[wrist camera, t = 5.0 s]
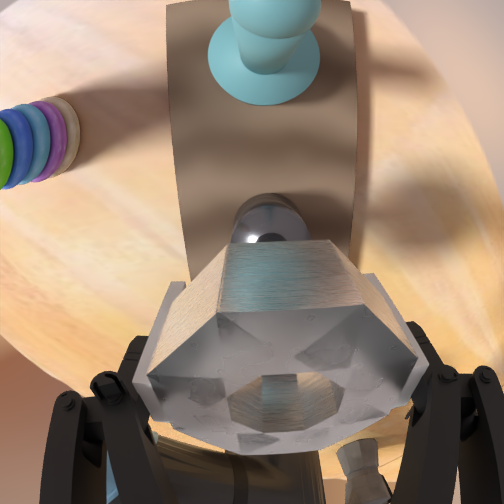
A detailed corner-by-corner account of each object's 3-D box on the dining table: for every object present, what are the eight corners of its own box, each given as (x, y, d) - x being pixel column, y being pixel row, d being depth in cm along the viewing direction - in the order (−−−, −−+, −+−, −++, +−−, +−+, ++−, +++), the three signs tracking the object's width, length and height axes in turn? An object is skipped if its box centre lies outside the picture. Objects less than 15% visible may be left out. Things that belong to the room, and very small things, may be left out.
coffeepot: (320, 453, 48) (329, 525, 32) (353, 435, 45) (368, 513, 29) (365, 457, 52) (377, 517, 36) (395, 440, 48) (412, 503, 32)
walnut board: (337, 282, 28) (343, 293, 26) (197, 287, 28) (194, 299, 26) (342, 8, 16) (350, 1, 14) (172, 12, 16) (166, 5, 15)
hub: (312, 106, 19) (401, 100, 7) (216, 108, 19) (157, 101, 7) (308, 22, 16) (375, -70, 4) (212, 23, 16) (161, -74, 4)
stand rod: (301, 256, 24) (329, 351, 15) (235, 258, 24) (225, 356, 15) (303, 192, 22) (344, 261, 12) (231, 194, 22) (213, 266, 12)
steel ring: (355, 383, 14) (372, 440, 11) (195, 392, 15) (186, 452, 11) (391, 237, 10) (444, 294, 7) (159, 245, 11) (120, 310, 7)
